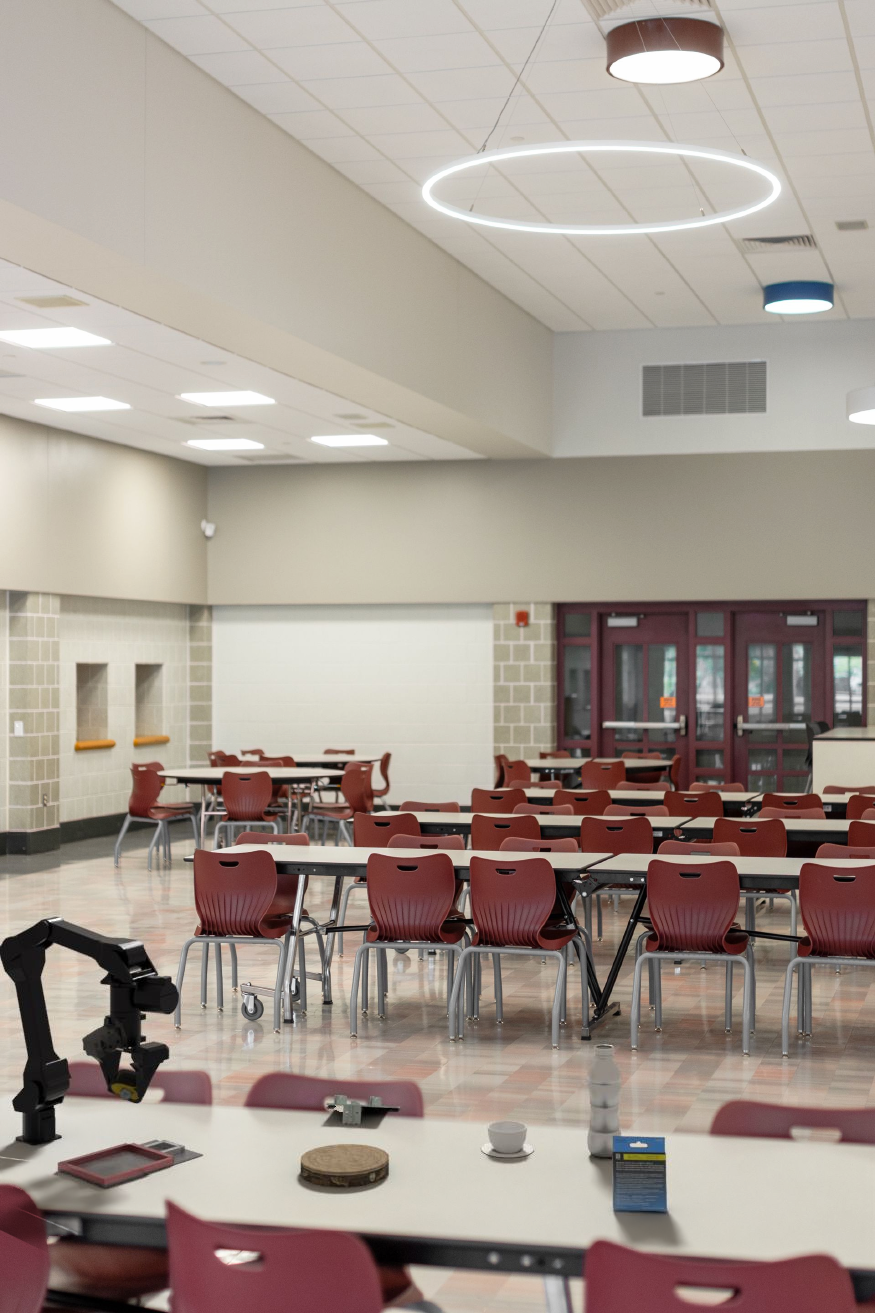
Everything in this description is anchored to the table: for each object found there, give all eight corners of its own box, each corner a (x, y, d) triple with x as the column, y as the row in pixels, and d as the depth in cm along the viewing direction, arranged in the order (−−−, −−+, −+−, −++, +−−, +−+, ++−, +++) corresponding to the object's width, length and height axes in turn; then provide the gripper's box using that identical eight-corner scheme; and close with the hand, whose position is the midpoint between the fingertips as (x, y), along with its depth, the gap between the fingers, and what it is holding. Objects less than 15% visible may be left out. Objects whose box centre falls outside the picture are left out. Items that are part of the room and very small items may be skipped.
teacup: (517, 1163, 267) (517, 1137, 267) (470, 1154, 272) (470, 1129, 273) (543, 1149, 275) (543, 1124, 276) (498, 1140, 281) (498, 1115, 281)
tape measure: (137, 1110, 273) (145, 1093, 275) (144, 1095, 268) (152, 1078, 270) (103, 1095, 272) (112, 1078, 275) (110, 1080, 267) (118, 1063, 270)
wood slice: (282, 1176, 261) (281, 1159, 261) (346, 1155, 273) (346, 1138, 273) (343, 1196, 250) (343, 1178, 251) (407, 1173, 262) (407, 1156, 262)
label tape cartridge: (666, 1204, 245) (665, 1130, 245) (667, 1213, 241) (666, 1137, 241) (612, 1203, 246) (611, 1129, 246) (612, 1211, 242) (612, 1136, 242)
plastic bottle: (582, 1159, 268) (581, 1049, 269) (593, 1148, 275) (592, 1041, 275) (616, 1163, 266) (615, 1052, 267) (626, 1152, 272) (625, 1044, 273)
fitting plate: (57, 1171, 263) (57, 1163, 263) (155, 1143, 280) (155, 1134, 280) (104, 1188, 254) (104, 1179, 254) (203, 1158, 271) (203, 1149, 271)
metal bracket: (388, 1097, 289) (315, 1094, 292) (387, 1128, 287) (313, 1124, 290) (402, 1098, 303) (331, 1095, 305) (400, 1128, 301) (330, 1124, 303)
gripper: (59, 1010, 272) (59, 1095, 272) (122, 1024, 260) (122, 1112, 260) (107, 1000, 280) (108, 1082, 280) (171, 1013, 269) (171, 1099, 268)
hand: (125, 1094), depth 272 cm, fingers closed on tape measure, 8 cm apart
